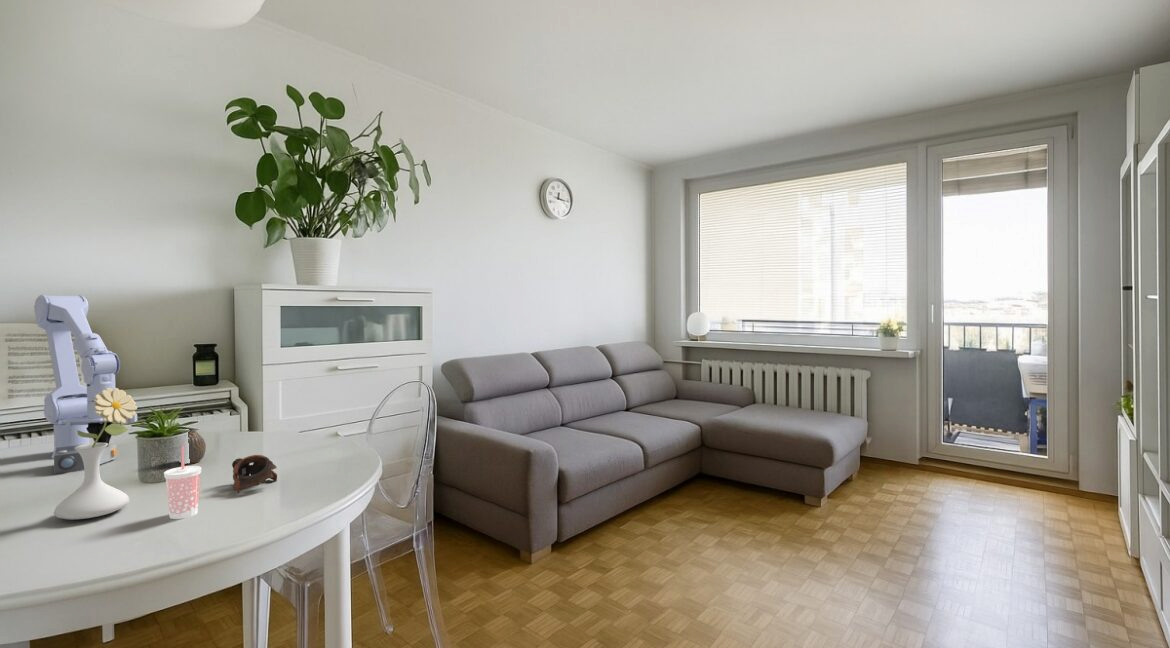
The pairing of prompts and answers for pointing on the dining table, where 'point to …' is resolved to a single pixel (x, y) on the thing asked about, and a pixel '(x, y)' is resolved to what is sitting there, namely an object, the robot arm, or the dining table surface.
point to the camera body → (67, 459)
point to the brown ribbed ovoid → (196, 446)
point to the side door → (108, 453)
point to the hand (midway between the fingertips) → (102, 451)
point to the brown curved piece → (252, 471)
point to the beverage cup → (183, 489)
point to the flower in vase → (94, 492)
